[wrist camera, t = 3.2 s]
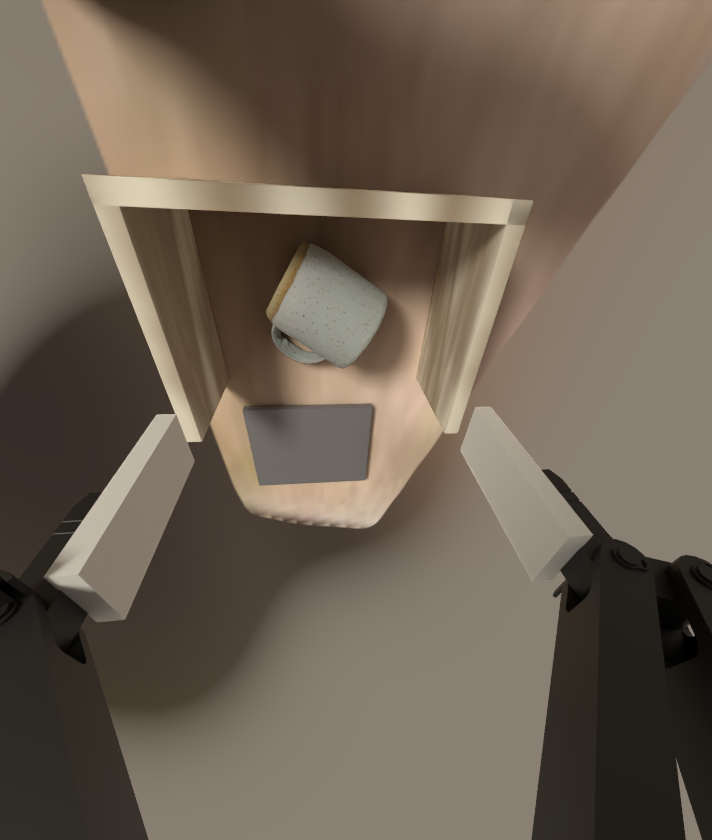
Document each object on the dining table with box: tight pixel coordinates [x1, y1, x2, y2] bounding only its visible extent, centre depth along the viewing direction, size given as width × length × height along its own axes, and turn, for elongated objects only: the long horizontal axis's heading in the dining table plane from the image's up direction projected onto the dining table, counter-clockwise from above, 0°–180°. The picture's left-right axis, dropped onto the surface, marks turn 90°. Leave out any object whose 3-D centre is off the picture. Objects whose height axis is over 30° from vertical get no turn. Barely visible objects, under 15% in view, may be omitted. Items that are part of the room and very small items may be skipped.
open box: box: [82, 174, 534, 442], centre depth 25 cm, size 23×17×10 cm
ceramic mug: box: [266, 242, 388, 368], centre depth 26 cm, size 11×8×8 cm
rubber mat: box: [243, 404, 372, 485], centre depth 40 cm, size 15×13×1 cm
